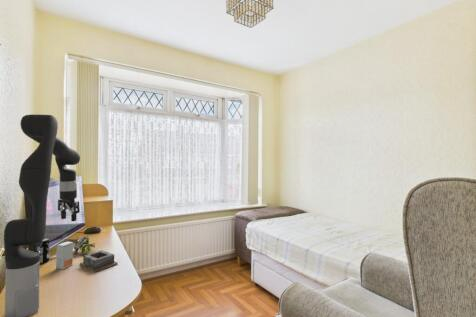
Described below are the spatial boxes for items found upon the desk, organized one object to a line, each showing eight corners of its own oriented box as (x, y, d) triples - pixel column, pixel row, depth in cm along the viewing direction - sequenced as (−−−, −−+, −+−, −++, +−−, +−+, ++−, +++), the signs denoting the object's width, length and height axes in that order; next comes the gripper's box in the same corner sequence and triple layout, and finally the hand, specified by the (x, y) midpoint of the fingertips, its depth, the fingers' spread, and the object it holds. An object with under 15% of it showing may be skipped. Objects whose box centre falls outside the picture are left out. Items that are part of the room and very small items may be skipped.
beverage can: (47, 258, 138) (47, 237, 138) (50, 261, 134) (51, 239, 134) (32, 262, 133) (32, 239, 133) (35, 265, 128) (35, 242, 129)
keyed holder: (117, 264, 130) (117, 254, 130) (96, 272, 121) (96, 262, 121) (101, 258, 139) (101, 249, 139) (80, 264, 130) (80, 255, 130)
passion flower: (76, 262, 147) (71, 243, 151) (96, 254, 153) (92, 236, 158) (75, 256, 139) (70, 236, 143) (97, 248, 145) (92, 230, 150)
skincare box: (62, 269, 124) (63, 245, 124) (55, 268, 125) (56, 245, 125) (73, 264, 130) (73, 241, 130) (66, 264, 131) (66, 241, 131)
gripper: (52, 189, 130) (52, 219, 130) (69, 191, 124) (70, 223, 125) (67, 187, 136) (67, 216, 137) (84, 189, 131) (84, 219, 131)
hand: (68, 219), depth 131 cm, fingers open, 8 cm apart
